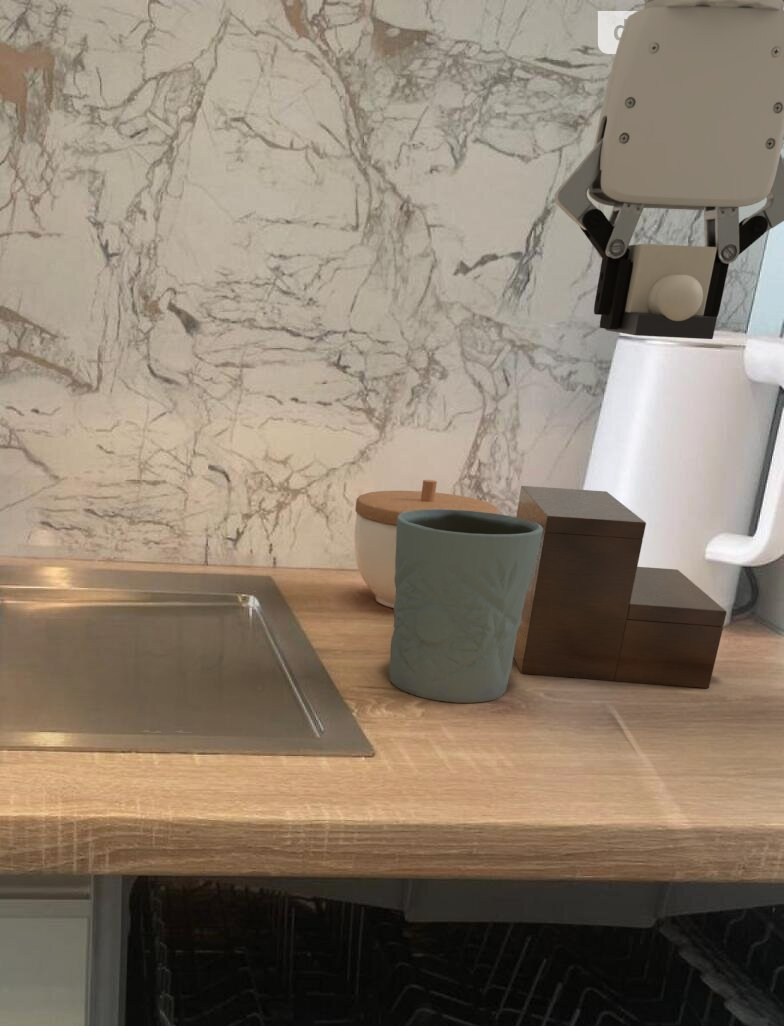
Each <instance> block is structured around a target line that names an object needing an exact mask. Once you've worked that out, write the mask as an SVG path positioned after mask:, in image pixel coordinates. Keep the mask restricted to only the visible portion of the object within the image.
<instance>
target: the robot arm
mask: <svg viewBox="0 0 784 1026" xmlns="http://www.w3.org/2000/svg"><path fill="white" fill-rule="evenodd" d="M614 54H615V55H614V58H613V61H612V64H611V68H610V73H609V77H608V81H607V85H606V89H605V94H604V97H603V102H602V106H601V111H600V113H599V114H600V115H599V118H598V119H599V120H598V124H597V129H596V133H595V139H594V143H593V147H592V149H591V150H590V151H589V153H588V154H586V156H585V157H584V159H583V160H582V161H581V162H580V163H579V164H578V166H577V167H576V168H575V169H574V171H572V172H571V174H570V175H569V176H568V177H567V179H566V180H565V181H564V183H563V184H562V185H560V187H559V188H558V190H557V191H556V192H555V194H554V197H553V200H554V203H555V205H556V206H558V207H559V209H561V211H563V212H564V213H565V214H566V216H568V217H569V218H570V219H571V220H572V221H573V222H575V223H576V225H577V226H579V228H580V229H581V231H582V233H584V235H585V236H586V238H587V239H588V241H589V242H590V244H592V246H593V247H594V249H595V251H596V253H597V256H598V257H599V258H600V259H601V263H600V270H599V275H598V282H597V288H596V294H595V300H594V305H593V314H594V315H596V316H597V315H598V316H600V320H599V328H600V329H604V330H606V329H612V330H617V329H618V328H620V327H621V325H622V320H623V315H624V312H625V306H626V301H627V295H628V290H629V284H630V278H631V273H632V267H633V262H631V259H628V256H629V248H628V245H630V243H631V240H632V238H633V235H634V234H635V231H636V228H637V225H638V223H639V221H640V219H641V216H642V213H643V211H644V209H657V210H658V209H661V210H662V209H663V210H683V211H684V210H686V211H703V224H704V225H703V228H704V231H703V232H704V247H717V250H716V255H715V260H714V265H713V270H712V275H711V280H710V285H709V290H708V295H707V300H706V304H705V309H704V314H703V316H707V317H716V318H717V319H718V316H719V314H720V310H721V305H722V300H723V295H724V290H725V285H726V281H727V275H728V271H729V266H730V264H732V263H734V262H735V261H736V260H737V259H738V257H739V256H740V255H741V254H742V253H743V252H744V251H746V250H747V249H748V248H749V247H750V246H751V245H753V244H754V243H755V242H756V241H757V240H759V239H760V238H761V237H762V236H763V235H764V234H765V233H767V232H769V231H770V230H772V229H774V228H775V227H777V226H778V225H780V224H782V223H784V159H783V156H782V154H781V152H782V147H783V140H784V0H644V3H643V9H640V10H637V11H635V12H634V13H632V14H630V15H628V17H627V18H626V21H625V23H624V25H623V30H622V32H621V35H620V38H619V41H618V45H617V48H616V51H615V53H614ZM588 195H589V197H590V198H591V199H592V200H593V201H595V202H597V203H598V204H601V205H604V206H609V207H612V209H611V212H610V215H609V217H607V216H606V215H605V213H604V212H603V211H602V210H601V209H599V208H598V207H597V206H596V205H594V203H593V202H592V201H591V200H590V199H589V198H588ZM765 199H766V200H765ZM764 200H765V201H766V202H765V204H764V206H762V207H761V208H759V209H758V210H757V211H755V212H754V213H752V214H751V215H749V216H748V217H744V219H742V220H741V221H740V211H739V210H740V209H739V208H741V207H749V206H753V205H756V204H758V203H760V202H763V201H764Z"/></svg>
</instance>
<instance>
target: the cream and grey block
mask: <svg viewBox="0 0 784 1026" xmlns="http://www.w3.org/2000/svg"><path fill="white" fill-rule="evenodd" d="M628 248H629V256H628V259H631V262H633V267H632V273H631V278H630V284H629V290H628V295H627V301H626V306H625V312H624V315H623V320H622V325H621V327H620V328H618V329H617V330H612V329H605V331H607V332H614V333H619V334H624V335H630V336H636V337H637V336H639V337H657V338H675V339H676V338H679V339H698V340H713V339H714V334H715V330H716V324H717V322H718V321H717V320H718V317H717V318H716V317H707V316H703V314H704V309H705V304H706V300H707V295H708V290H709V285H710V280H711V275H712V270H713V265H714V260H715V255H716V250H717V247H705V246H703V245H701V246H700V245H699V246H698V245H679V244H677V245H676V244H675V245H674V244H651V243H639V244H629V245H628Z"/></svg>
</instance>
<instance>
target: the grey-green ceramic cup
mask: <svg viewBox="0 0 784 1026" xmlns="http://www.w3.org/2000/svg"><path fill="white" fill-rule="evenodd" d="M542 533H543V528H542V526H540V525H539V524H537V523H535V522H532V521H529V520H525V519H521V518H516V516H511V515H506V514H500V513H498V514H493V513H485V512H476V511H467V510H449V509H429V510H414V511H408V512H404V513H401V514H399V515H398V516H397V532H396V558H395V577H394V580H395V587H396V596H395V604H394V608H393V618H394V622H393V632H392V635H391V641H390V654H389V655H390V656H389V681H390V683H392V685H393V686H395V687H396V688H398V689H399V690H401V691H403V692H406V693H408V694H410V695H414V696H416V697H420V698H422V699H427V700H433V701H439V702H446V703H447V702H448V703H458V704H474V703H475V704H476V703H483V702H490V701H494V700H496V699H499V698H501V697H502V696H503V695H505V692H506V690H507V688H508V684H509V680H510V676H511V672H512V667H513V662H514V649H515V642H516V636H517V631H518V629H519V627H520V624H521V614H522V610H523V607H524V602H525V597H526V593H527V590H528V587H529V583H530V580H531V577H532V574H533V570H534V566H535V562H536V558H537V554H538V550H539V545H540V541H541V537H542Z"/></svg>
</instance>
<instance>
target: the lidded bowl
mask: <svg viewBox="0 0 784 1026" xmlns="http://www.w3.org/2000/svg"><path fill="white" fill-rule="evenodd" d="M437 484H438V481H437V480H435V479H423V480H422V487H421V490H379V491H371V492H366V493H363V494H360V495H358V497H357V498H356V500H355V512H356V514H355V515H356V516H355V525H354V554H355V561H356V565H357V569H358V572H359V574H360V576H361V578H362V581H364V583H365V584H366V586H367V588H368V589H369V590H370V591H371V592H372V593H373V594H374V596H375V601H376V602H377V603H379V604H380V605H382V606H386V607H388V608H391V609H394V604H395V596H396V587H395V580H394V577H395V558H396V532H397V516H398V515H399V514H401V513H404V512H408V511H414V510H429V509H449V510H467V511H476V512H485V513H493V514H500V512H499V511H500V510H499V509H498V507H497V506H496V505H494V504H492V503H490V502H487V501H484V500H481V499H477V498H473V497H468V496H463V495H459V494H450V493H443V492H436V490H437Z"/></svg>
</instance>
